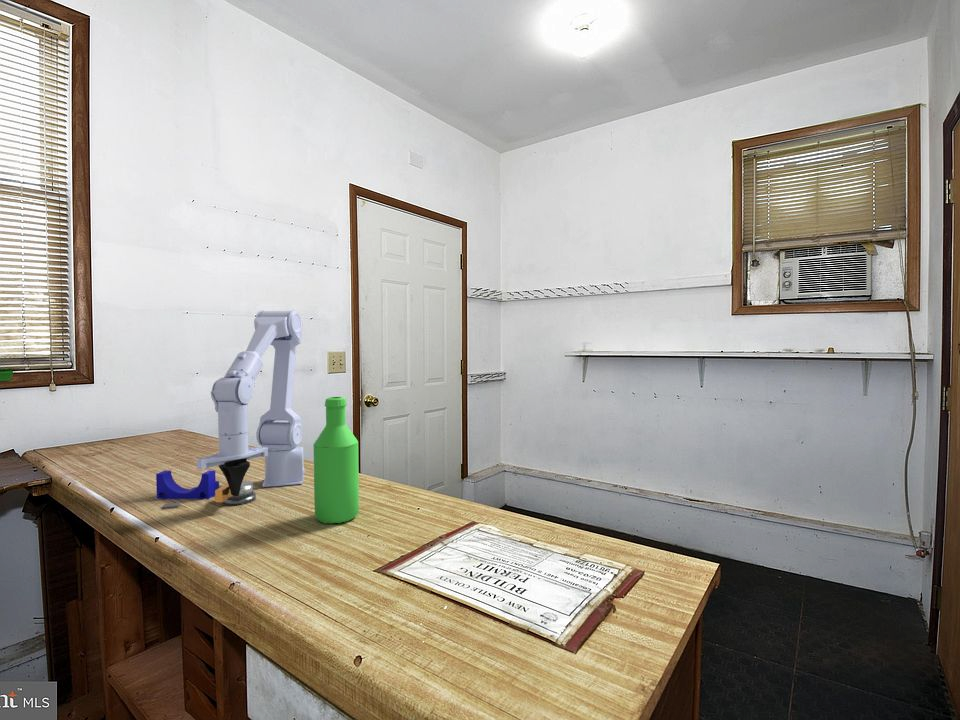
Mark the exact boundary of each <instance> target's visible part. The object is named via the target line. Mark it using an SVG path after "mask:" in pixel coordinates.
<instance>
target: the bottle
mask: <svg viewBox="0 0 960 720" xmlns="http://www.w3.org/2000/svg"><path fill="white" fill-rule="evenodd" d="M346 399H347V398H346V397H344V396H343V397H342V396H330V397H327V398H326V399H325V402H324V407H325V427H324V428H323V429H322V431H321V432H320V434H319V435H318V437H317V439H316V440H315V442H314V443H313V491H314V492H313V493H314V494H313V495H314V497H313V498H314V517H315V519H317V520H318V521H319V522H321V523H323V522H324V523H323V524H327V523H338V524H342V522H344V523H347V522H349V521H352V520H353V519H354V518H355V517H356V516H357V515H359V511H360V497H359V496H360V494H359V493H360V489H359V487H360V484H359V483H360V480H359V473H360V471H359V468H360V467H359V441H358V439H357V437H355V435H354V434H353V432H352V431H351V429H350V428H349V427H348V425H347V424H346V423H347V422H346V406H347V405H348V404H347V403H348V402H347V400H346ZM346 521H347V522H346Z"/></svg>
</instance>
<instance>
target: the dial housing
mask: <svg viewBox="0 0 960 720" xmlns="http://www.w3.org/2000/svg"><path fill="white" fill-rule="evenodd" d="M256 495H257V493H256V492H254V491H253V494H252V495H251V496H248V497H245V498H239V499H227V500H225V501H224V502H221V504H222V505H224V506H229V507H231V506H241V505H247V504H250V503H252V502H254V501H255V500H256V499H257V497H256Z"/></svg>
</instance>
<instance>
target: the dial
mask: <svg viewBox="0 0 960 720" xmlns="http://www.w3.org/2000/svg"><path fill="white" fill-rule="evenodd" d="M253 492H254V483H253V482H251V481H248V480H245V481H244V480H243V481H242V484H241V488H240V492H239V496H233V495H231V491H230V488H229V485H228V482H227V483H225V484H223V485H222V486H219V489H217V490H215V496H214V499H215V500H214V501H215V503H222V502H224V501H225V500H227V499H239V498H245V497H248V496H251V495H252V494H253Z"/></svg>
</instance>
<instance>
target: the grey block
mask: <svg viewBox="0 0 960 720" xmlns="http://www.w3.org/2000/svg"><path fill="white" fill-rule="evenodd" d="M180 505H181V502H174V503H164V504H163V505H162V507H161V509H162V510H164V509H166V510H167V509H175V508H179V507H180Z"/></svg>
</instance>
